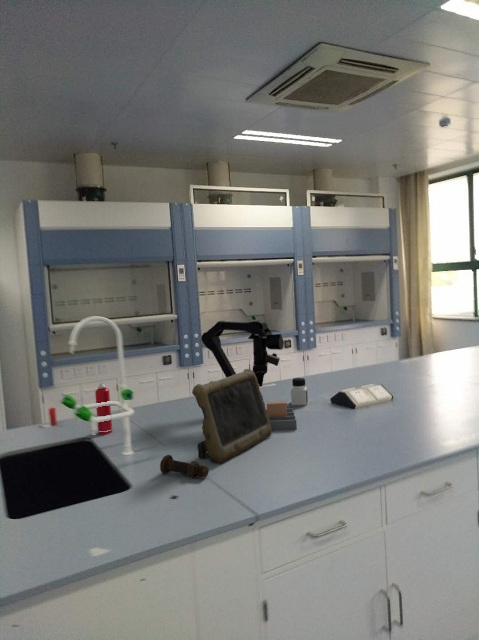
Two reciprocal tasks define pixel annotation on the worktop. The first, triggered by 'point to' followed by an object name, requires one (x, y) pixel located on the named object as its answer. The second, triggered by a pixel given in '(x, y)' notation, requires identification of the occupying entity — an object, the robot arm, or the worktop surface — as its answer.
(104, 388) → the bottle
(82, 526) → the worktop surface
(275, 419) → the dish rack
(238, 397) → the tablet
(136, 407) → the worktop surface
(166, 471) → the bolt
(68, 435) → the worktop surface
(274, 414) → the tall tan upright block
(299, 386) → the medicine bottle
